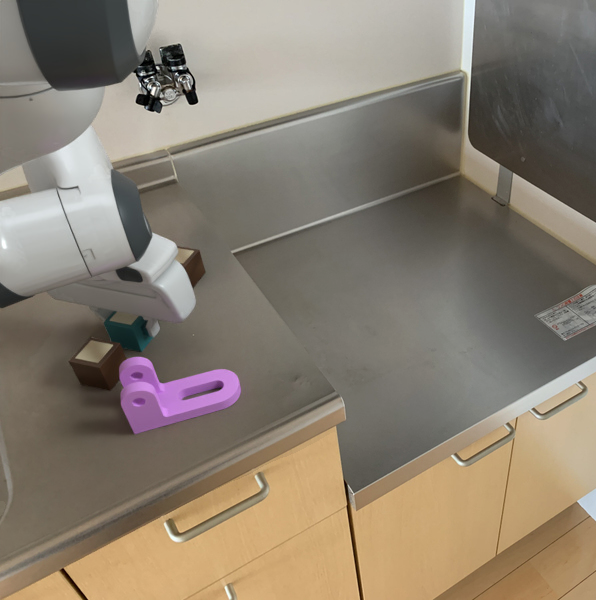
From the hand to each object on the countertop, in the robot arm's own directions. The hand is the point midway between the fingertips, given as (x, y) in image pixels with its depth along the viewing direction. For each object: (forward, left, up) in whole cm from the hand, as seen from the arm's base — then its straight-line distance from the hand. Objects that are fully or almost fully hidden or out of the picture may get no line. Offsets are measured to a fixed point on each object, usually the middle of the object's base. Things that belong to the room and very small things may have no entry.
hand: (133, 329), depth 83 cm
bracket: (-8, -13, -2) cm, 15 cm away
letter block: (0, 0, -2) cm, 2 cm away
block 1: (-7, 0, -2) cm, 7 cm away
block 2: (+13, 0, -2) cm, 13 cm away
